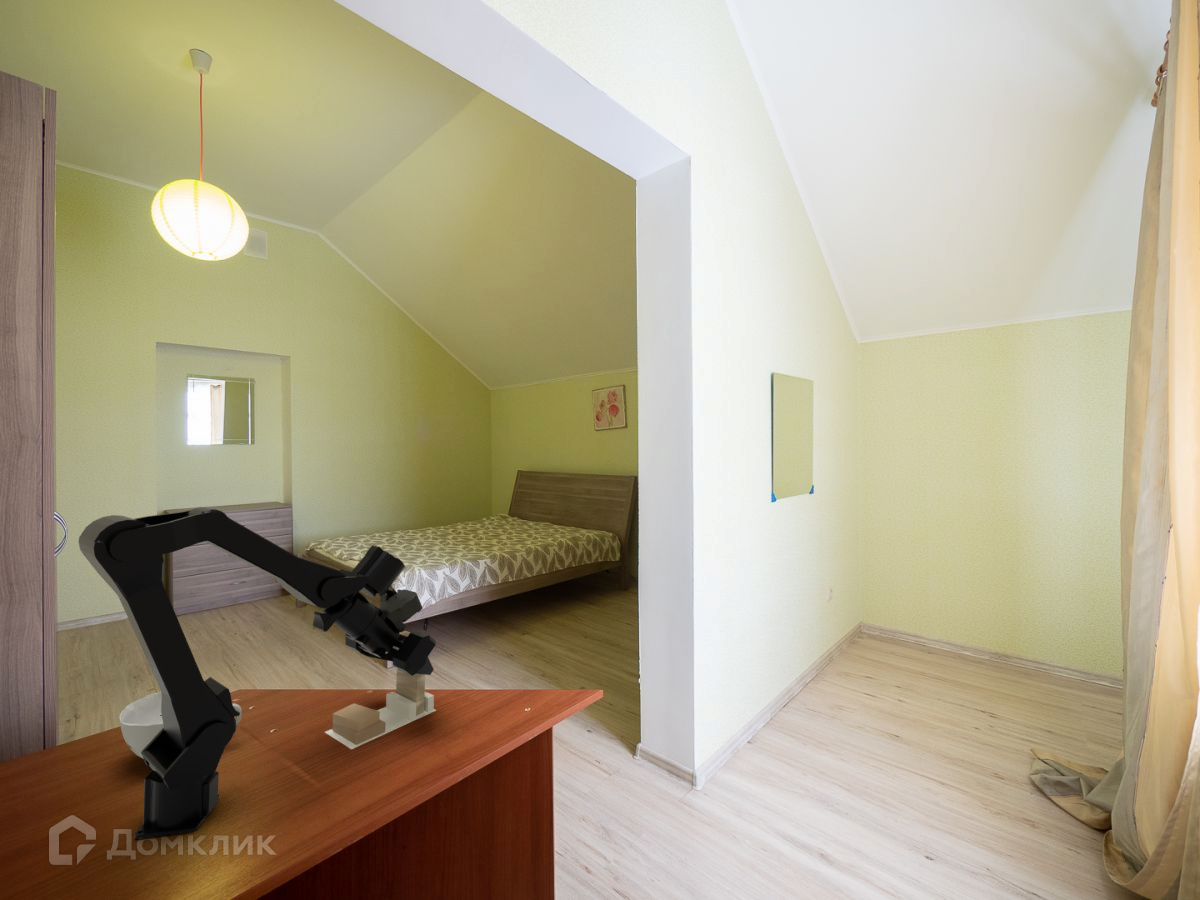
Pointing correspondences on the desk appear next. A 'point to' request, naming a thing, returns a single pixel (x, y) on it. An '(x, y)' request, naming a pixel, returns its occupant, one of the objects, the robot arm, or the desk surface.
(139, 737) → the teacup
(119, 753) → the desk surface
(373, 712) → the offcut rack
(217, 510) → the robot arm
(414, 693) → the grey brown wooden board
